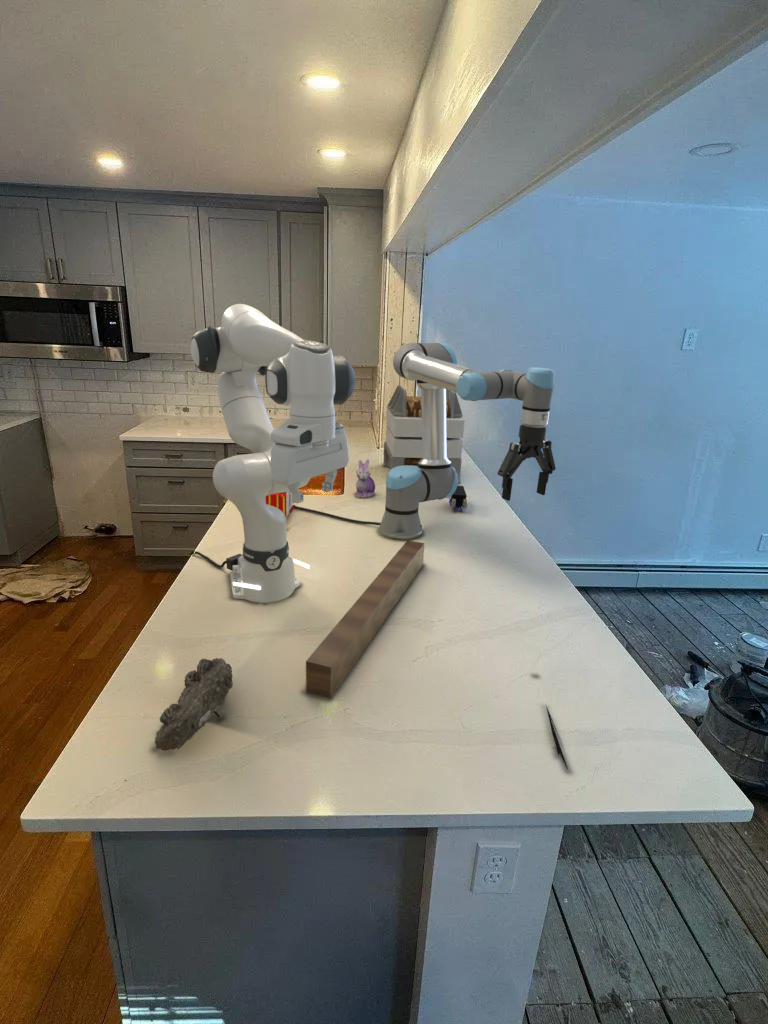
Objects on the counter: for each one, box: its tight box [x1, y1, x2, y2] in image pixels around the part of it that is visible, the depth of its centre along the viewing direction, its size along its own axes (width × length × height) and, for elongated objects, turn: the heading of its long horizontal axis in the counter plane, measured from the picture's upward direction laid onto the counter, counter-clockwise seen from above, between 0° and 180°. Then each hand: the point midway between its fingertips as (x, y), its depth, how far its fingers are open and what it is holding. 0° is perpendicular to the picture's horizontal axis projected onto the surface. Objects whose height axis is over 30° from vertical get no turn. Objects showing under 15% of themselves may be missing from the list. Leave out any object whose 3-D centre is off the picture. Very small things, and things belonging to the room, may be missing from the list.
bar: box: [305, 540, 425, 699], centre depth 145 cm, size 69×6×7 cm, turn 161°
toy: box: [266, 491, 296, 518], centre depth 210 cm, size 12×13×30 cm
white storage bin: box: [383, 384, 465, 484], centre depth 268 cm, size 34×33×41 cm
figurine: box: [355, 459, 376, 499], centre depth 237 cm, size 9×10×15 cm
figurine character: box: [448, 485, 468, 512], centre depth 228 cm, size 7×8×15 cm
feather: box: [535, 673, 569, 770], centre depth 112 cm, size 2×28×2 cm
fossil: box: [154, 657, 234, 752], centre depth 107 cm, size 22×10×15 cm
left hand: (313, 496), depth 115 cm, fingers open, 8 cm apart
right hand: (523, 496), depth 166 cm, fingers open, 13 cm apart
